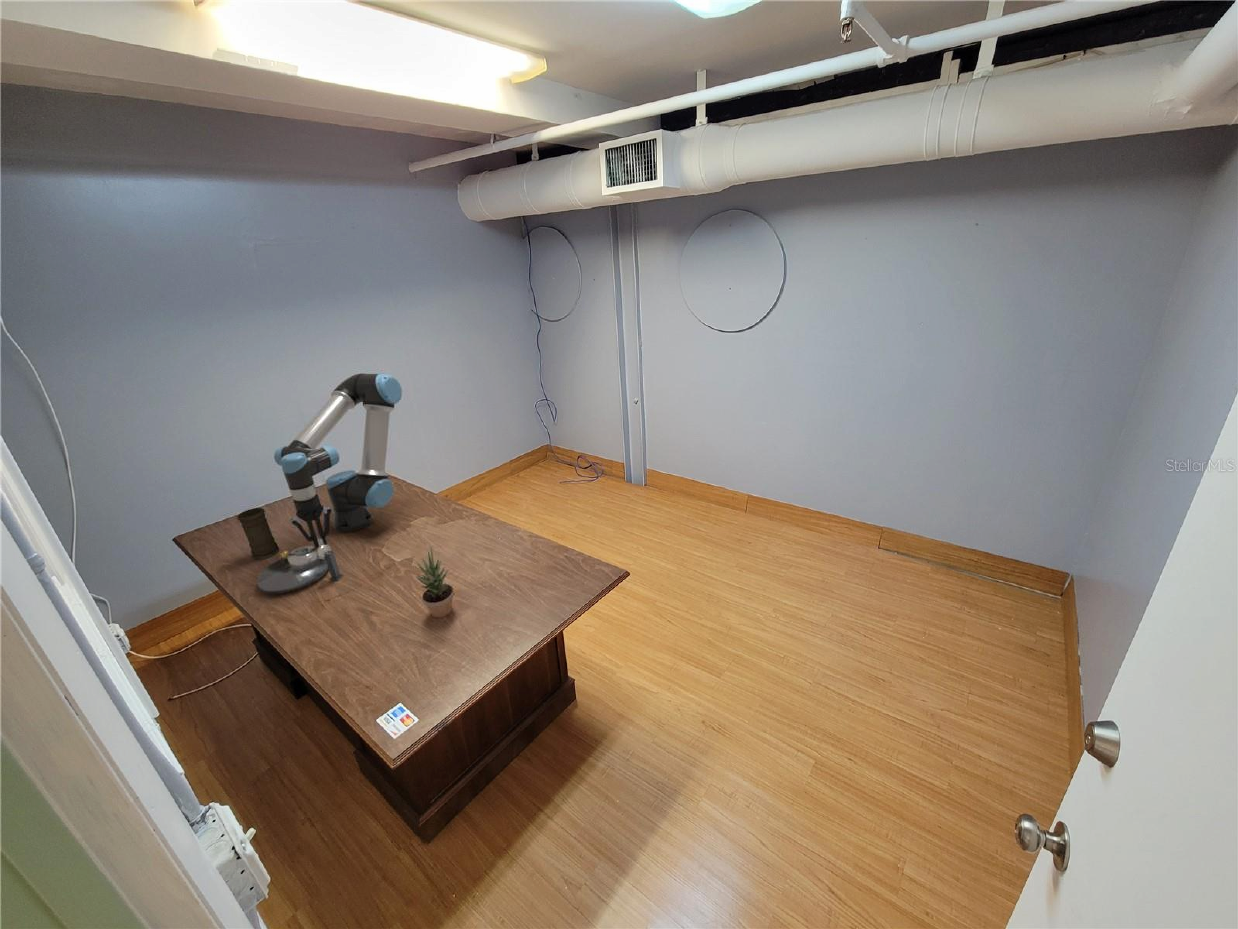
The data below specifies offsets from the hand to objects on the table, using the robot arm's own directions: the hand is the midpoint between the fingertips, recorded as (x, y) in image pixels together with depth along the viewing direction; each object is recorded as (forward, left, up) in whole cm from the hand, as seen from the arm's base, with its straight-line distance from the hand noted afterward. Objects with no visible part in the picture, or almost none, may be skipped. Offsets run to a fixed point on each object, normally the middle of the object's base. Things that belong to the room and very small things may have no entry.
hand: (323, 553), depth 182 cm
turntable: (+10, 0, -4) cm, 11 cm away
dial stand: (0, +12, -5) cm, 13 cm away
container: (+14, -27, -5) cm, 31 cm away
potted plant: (-18, +57, -5) cm, 60 cm away
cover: (+6, 0, -2) cm, 7 cm away
